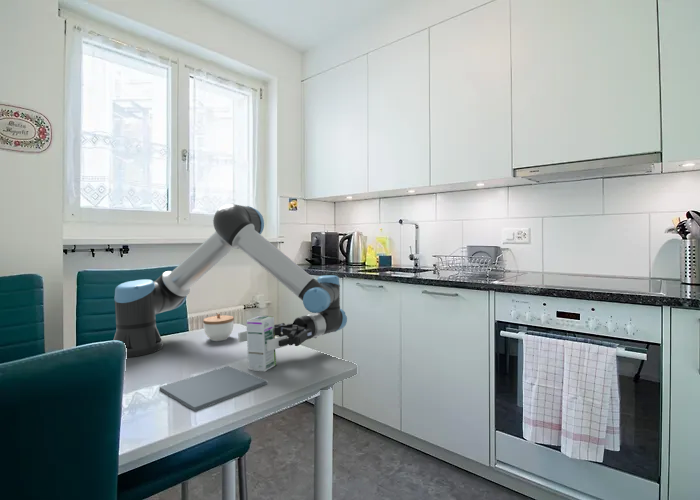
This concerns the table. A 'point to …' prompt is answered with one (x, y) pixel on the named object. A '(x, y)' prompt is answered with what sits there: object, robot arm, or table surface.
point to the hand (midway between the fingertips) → (252, 341)
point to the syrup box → (260, 343)
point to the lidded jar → (218, 327)
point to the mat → (212, 387)
